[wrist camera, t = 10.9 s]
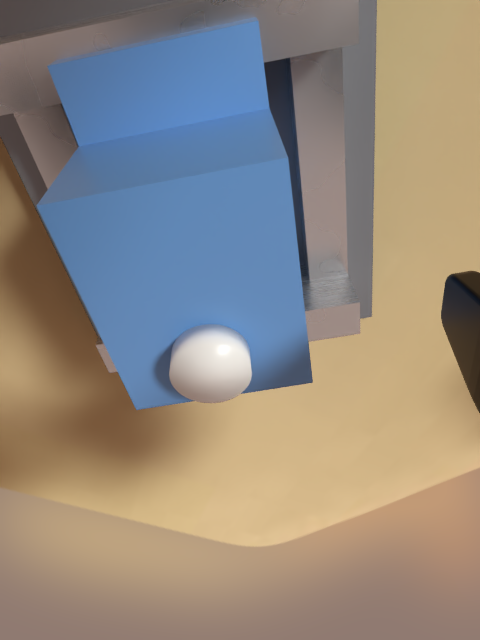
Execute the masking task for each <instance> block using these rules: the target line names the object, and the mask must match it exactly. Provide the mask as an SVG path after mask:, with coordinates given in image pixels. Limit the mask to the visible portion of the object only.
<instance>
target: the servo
mask: <svg viewBox="0 0 480 640" xmlns="http://www.w3.org/2000/svg"><path fill="white" fill-rule="evenodd" d="M47 67H48V69H49V72H50V74H51V77H52V80H53V82H54V85H55V87H56V90H57V92H58V95H59V97H60V100H61V102H62V105H63V108H64V110H65V113H66V115H67V118H68V120H69V123H70V125H71V128H72V130H73V133H74V135H75V138H76V141H77V143H78V146H79V147H78V148H77V150H76V151H75V152H74V154H73V155H72V157H71V158H70V159H69V161H68V162H67V164H66V165H65V166H64V168H63V169H62V171H61V172H60V173H59V175H58V176H57V178H56V179H55V180H54V182H53V183H52V185H51V186H50V187H49V189H48V190H47V192H46V193H45V194H44V196H43V197H42V198H41V200H40V201H39V203H38V204H37V205H36V206H37V209H38V211H39V213H40V215H41V217H42V219H43V221H44V223H45V225H46V227H47V229H48V231H49V233H50V235H51V237H52V239H53V241H54V243H55V245H56V247H57V249H58V251H59V253H60V255H61V257H62V259H63V261H64V264H65V266H66V268H67V270H68V272H69V274H70V276H71V278H72V280H73V282H74V284H75V286H76V288H77V290H78V292H79V294H80V296H81V298H82V300H83V302H84V304H85V306H86V308H87V310H88V312H89V314H90V316H91V319H92V321H93V323H94V325H95V327H96V329H97V331H98V333H99V335H100V337H101V339H102V341H103V343H104V345H105V347H106V349H107V351H108V353H109V355H110V357H111V359H112V361H113V363H114V365H115V367H116V369H117V371H118V374H119V376H120V378H121V380H122V382H123V384H124V386H125V388H126V390H127V392H128V394H129V396H130V398H131V400H132V402H133V404H134V406H135V408H136V410H140V409H146V408H152V407H159V406H165V405H172V404H178V403H185V402H191V401H197V402H202V403H218V402H223V401H227V400H230V399H232V398H234V397H236V396H238V395H239V394H242V393H249V392H255V391H262V390H268V389H275V388H281V387H287V386H294V385H300V384H307V383H313V380H312V371H311V362H310V353H309V344H308V335H307V325H306V316H305V307H304V298H303V289H302V280H301V271H300V261H299V252H298V243H297V234H296V225H295V216H294V207H293V198H292V188H291V179H290V170H289V161H288V156H287V153H286V151H285V148H284V145H283V143H282V140H281V137H280V135H279V132H278V129H277V127H276V124H275V122H274V119H273V116H272V114H271V111H270V108H269V101H268V93H267V85H266V77H265V69H264V62H263V54H262V46H261V38H260V30H259V22H258V19H257V18H256V17H254V18H250V19H245V20H240V21H236V22H231V23H227V24H222V25H217V26H213V27H208V28H203V29H199V30H194V31H190V32H185V33H180V34H176V35H171V36H166V37H162V38H157V39H153V40H148V41H143V42H139V43H134V44H129V45H125V46H120V47H116V48H111V49H106V50H102V51H97V52H92V53H88V54H83V55H79V56H74V57H69V58H65V59H60V60H56V61H54V62H53V63H51V64H50V65H48V66H47Z"/></svg>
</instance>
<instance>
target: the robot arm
mask: <svg viewBox="0 0 480 640" xmlns="http://www.w3.org/2000/svg"><path fill="white" fill-rule="evenodd" d="M441 319H442V324H443V327H444V330H445V332H446V335H447V337H448V340H449V342H450V345H451V347H452V350H453V352H454V355H455V357H456V360H457V362H458V365H459V367H460V370H461V373H462V375H463V378H464V380H465V383H466V385H467V388H468V390H469V392H470V395H471V397H472V399H473V401H474V403H475V405H476V407H477V409H478V411H479V413H480V273H479V272H476V271H467V272H461V273H455V274H451V275H450V276H448V277H447V279H446V282H445V289H444V296H443V303H442V311H441Z"/></svg>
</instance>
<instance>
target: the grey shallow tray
mask: <svg viewBox="0 0 480 640" xmlns="http://www.w3.org/2000/svg"><path fill="white" fill-rule="evenodd" d="M376 16H377V0H0V137H1V139H2V141H3V143H4V145H5V147H6V149H7V151H8V153H9V155H10V157H11V159H12V161H13V163H14V166H15V168H16V170H17V172H18V174H19V176H20V178H21V180H22V182H23V184H24V186H25V188H26V190H27V192H28V194H29V196H30V198H31V200H32V202H33V205H34V207H35V209H36V211H37V213H38V215H39V217H40V219H41V221H42V223H43V225H44V227H45V229H46V231H47V233H48V235H49V237H50V239H51V241H52V244H53V246H54V248H55V250H56V252H57V254H58V256H59V258H60V260H61V262H62V264H63V266H64V268H65V270H66V272H67V274H68V276H69V278H70V281H71V283H72V285H73V287H74V289H75V291H76V293H77V295H78V297H79V299H80V301H81V303H82V305H83V307H84V309H85V311H86V313H87V315H88V317H89V320H90V322H91V324H92V326H93V328H94V330H95V332H96V334H97V336H98V339H97V342H96V347H97V349H98V351H99V353H100V355H101V357H102V359H103V361H104V363H105V365H106V367H107V369H108V371H109V373H113V372H118V371H117V369H116V367H115V365H114V363H113V361H112V359H111V357H110V355H109V353H108V351H107V349H106V347H105V345H104V343H103V341H102V339H101V337H100V335H99V333H98V331H97V329H96V327H95V325H94V323H93V321H92V319H91V316H90V314H89V312H88V310H87V308H86V306H85V304H84V302H83V300H82V298H81V296H80V294H79V292H78V290H77V288H76V286H75V284H74V282H73V280H72V278H71V276H70V274H69V272H68V270H67V268H66V266H65V264H64V261H63V259H62V257H61V255H60V253H59V251H58V249H57V247H56V245H55V243H54V241H53V239H52V237H51V235H50V233H49V231H48V229H47V227H46V225H45V223H44V221H43V219H42V217H41V215H40V213H39V211H38V209H37V206H36V205H37V204H38V203H39V201H40V200H41V198H42V197H43V196H44V194H45V193H46V192H47V190H48V189H49V187H50V186H51V185H52V183H53V182H54V180H55V179H56V178H57V176H58V175H59V173H60V172H61V171H62V169H63V168H64V166H65V165H66V164H67V162H68V161H69V159H70V158H71V157H72V155H73V154H74V152H75V151H76V150H77V148H78V147H79V146H78V143H77V141H76V138H75V135H74V133H73V130H72V128H71V125H70V123H69V120H68V118H67V115H66V113H65V110H64V108H63V105H62V102H61V100H60V97H59V95H58V92H57V90H56V87H55V85H54V82H53V80H52V77H51V74H50V72H49V69H48V67H47V66H48V65H50V64H51V63H53V62H54V61H56V60H60V59H65V58H69V57H74V56H79V55H83V54H88V53H92V52H97V51H102V50H106V49H111V48H116V47H120V46H125V45H129V44H134V43H139V42H143V41H148V40H153V39H157V38H162V37H166V36H171V35H176V34H180V33H185V32H190V31H194V30H199V29H203V28H208V27H213V26H217V25H222V24H227V23H231V22H236V21H240V20H245V19H250V18H254V17H256V18H257V19H258V22H259V30H260V38H261V46H262V54H263V62H264V69H265V77H266V85H267V93H268V101H269V108H270V111H271V114H272V116H273V119H274V122H275V124H276V127H277V129H278V132H279V135H280V137H281V140H282V143H283V145H284V148H285V151H286V153H287V156H288V161H289V170H290V179H291V188H292V198H293V207H294V216H295V225H296V234H297V243H298V252H299V261H300V271H301V280H302V289H303V298H304V307H305V316H306V325H307V335H308V342H310V341H316V340H322V339H329V338H335V337H341V336H348V335H354V334H360V318H366V317H372V266H373V203H374V141H375V78H376Z"/></svg>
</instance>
